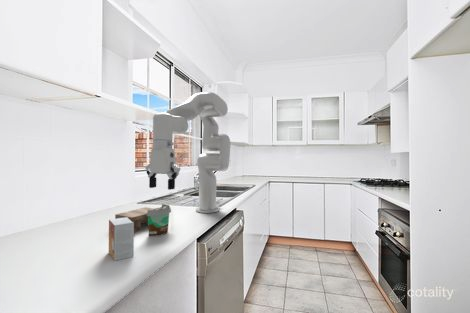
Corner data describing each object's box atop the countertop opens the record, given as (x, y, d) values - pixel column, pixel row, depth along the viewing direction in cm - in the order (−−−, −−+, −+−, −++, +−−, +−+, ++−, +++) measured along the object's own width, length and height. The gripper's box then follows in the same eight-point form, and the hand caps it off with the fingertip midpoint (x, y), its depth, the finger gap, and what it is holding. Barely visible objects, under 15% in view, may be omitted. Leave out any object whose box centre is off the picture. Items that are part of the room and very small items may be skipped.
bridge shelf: (145, 219, 115) (145, 207, 115) (161, 222, 111) (161, 209, 111) (115, 229, 101) (115, 214, 101) (132, 232, 97) (132, 217, 97)
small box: (108, 252, 78) (108, 219, 77) (127, 248, 81) (127, 216, 81) (113, 261, 71) (113, 225, 71) (133, 256, 75) (134, 222, 74)
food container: (161, 238, 91) (161, 211, 91) (146, 237, 92) (146, 210, 92) (176, 228, 103) (176, 204, 103) (162, 227, 104) (162, 203, 104)
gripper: (186, 145, 96) (185, 188, 96) (153, 145, 104) (152, 186, 104) (173, 144, 90) (172, 191, 90) (139, 144, 98) (138, 187, 97)
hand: (161, 188), depth 97 cm, fingers open, 9 cm apart
